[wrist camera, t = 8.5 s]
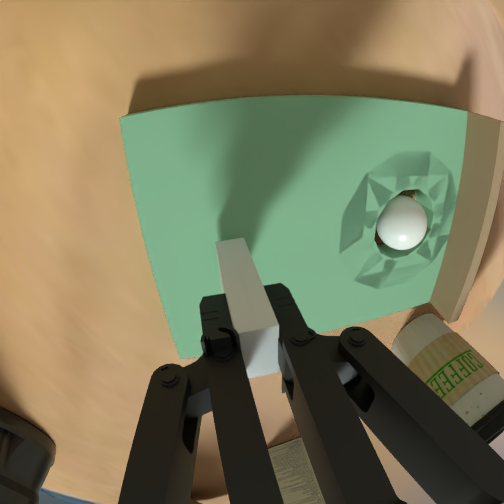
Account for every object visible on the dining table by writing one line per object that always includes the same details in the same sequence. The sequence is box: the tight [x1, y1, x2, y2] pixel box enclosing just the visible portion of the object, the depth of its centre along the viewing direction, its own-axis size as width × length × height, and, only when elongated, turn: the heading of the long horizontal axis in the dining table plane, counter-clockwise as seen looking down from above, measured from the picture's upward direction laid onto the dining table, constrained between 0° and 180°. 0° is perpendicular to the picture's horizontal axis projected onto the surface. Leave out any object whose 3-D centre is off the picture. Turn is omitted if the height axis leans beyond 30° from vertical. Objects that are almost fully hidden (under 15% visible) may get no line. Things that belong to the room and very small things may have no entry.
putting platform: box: [120, 95, 504, 359], centre depth 17 cm, size 22×16×5 cm
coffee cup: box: [392, 313, 504, 444], centre depth 23 cm, size 10×10×15 cm
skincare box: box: [268, 437, 325, 504], centre depth 32 cm, size 6×4×12 cm
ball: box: [376, 195, 427, 250], centre depth 19 cm, size 4×4×4 cm
